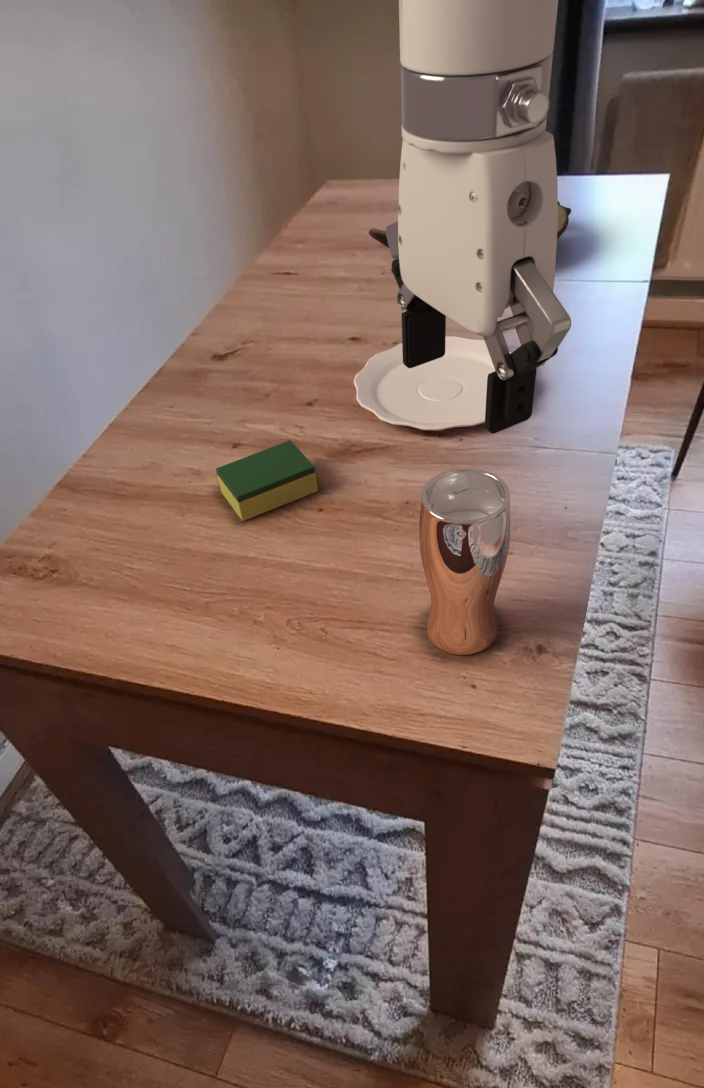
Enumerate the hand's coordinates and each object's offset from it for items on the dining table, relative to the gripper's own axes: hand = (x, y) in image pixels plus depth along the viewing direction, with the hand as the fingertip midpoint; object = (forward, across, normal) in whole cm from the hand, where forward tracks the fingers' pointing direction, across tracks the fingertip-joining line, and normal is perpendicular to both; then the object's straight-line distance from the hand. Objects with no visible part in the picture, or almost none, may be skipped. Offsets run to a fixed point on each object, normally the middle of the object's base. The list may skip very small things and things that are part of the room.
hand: (463, 391), depth 53 cm
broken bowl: (+24, +64, -45) cm, 82 cm away
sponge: (+24, +28, +6) cm, 37 cm away
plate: (+24, +34, -20) cm, 46 cm away
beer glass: (+24, 0, 0) cm, 24 cm away
